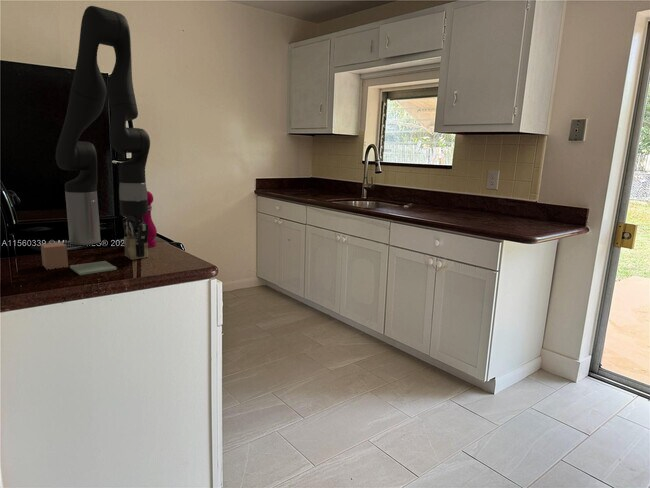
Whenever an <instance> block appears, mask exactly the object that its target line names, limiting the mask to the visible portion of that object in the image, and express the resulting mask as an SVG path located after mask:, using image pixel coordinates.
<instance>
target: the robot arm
mask: <svg viewBox="0 0 650 488" xmlns="http://www.w3.org/2000/svg"><path fill="white" fill-rule="evenodd" d="M80 23H81V24H80V30H79V31H80V32H79V41H78V52H77V58H76V64H75V70H74V75H73V77H72V78H73V79H72V83H71V85H70V86H71V87H70V92H69V97H68V104H67V109H66V114H65V118H64V122H63V126H62V128H61V132H60V135H59V137H58V141H57V143H56V144H57V145H56V148H55V161H56V162H55V163H56V165H57V167H58V168H59V169H61V170H63V171H79V174H78V176H77V177H74V179H70V180H68V181H66V182H65V183H64V194H65V203H66V206H65V207H66V218H67V227H68V228H67V229H68V239H69V240H68V241H69V244H70V245H73V246H74V245H75V246H84V245H86V246H87V245H94V244H98V243H101V229H100V216H99V202H98V201H99V200H98V181H99V179H98V154H97V149H96V146H95V145H94V144H93V143H91V142H89V141H80V140H79V139H80V137H81V135H82V134H83V132H84V131H85V130H86V129H87V128H88V127H89V126H90V125H91V124H92V123H93V122H95V121H96V120H97V118H98V117H99V116H100V115H101V113H102V112H103V110H104V106H105V102H106V97H107V98H108V104H109V109H110V127H109V143H110V146H111V147H112V149H113V150H114V151H115V152H117V153H120V154H131V157H130V159H129V160H126V161H122V162H120V163H119V164H118V178H119V179H118V180H119V183H118V184H119V187H118V196H119V209H120V210H119V211H120V214H121V215H122V216H125V217H126V218H125V217H124V218H122V226H123V233H124V234H123V235H124V237H127V236H133V237H134V238H135V243H136V256H137V257H143V256H144V255H145V254H144V244H145V243H147V242H148V224H144V221H143V215H146V214H147V213H148V200H147V191H148V188H147V183H146V182H147V181H146V166H147V161H148V157H149V152H150V149H151V148H150V147H151V139H150V136H149V134H148V132H147V131H146V130H145V129H143V128H139V127H138V128H137V127H127V122H128V121H133V120H135V119H137V118H138V115H139V110H138V106H137V101H136V95H135V89H134V85H133V83H134V82H133V72H132V70H133V68H132V66H133V65H132V45H131V44H132V43H131V42H132V41H131V31H130V30H131V29H130V25H129V23H128V19H127V18H126V16H125V15H124V14H122V13H120V12H117V11H114V10H111V9H106V8H103V7H99V6H96V5H89V6H87V7H86V8H85V10H84V11H83V14H82V18H81V22H80ZM99 45H103V46H109V47H112V48H113V50H114V54H115V55H114V56H115V64H114V66H113V69H112V71H111V74H110V76H109V79H108V81H107V84H106V82H105V80H104V77H103V75H102V72H101V70H100V66H99V63H98V50H99ZM144 236H145V237H144ZM141 238H142V239H141Z"/></svg>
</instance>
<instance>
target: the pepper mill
mask: <svg viewBox="0 0 650 488" xmlns="http://www.w3.org/2000/svg"><path fill="white" fill-rule="evenodd" d="M147 200H148V213H147V214H146V215H143V221H144V224H148V247H150V248H154V247H156V245H157V243H156V242H157V241H156V239H155V238H156V237H157V234H158V233H157V232H158V231H157V230H158V229H157V228H156V226H155V224H154V221H153V219H152V214H151V213H152V210H153V205H152V203H153V202H154V196H153V194H152V193H151V192H150V191H148V190H147Z"/></svg>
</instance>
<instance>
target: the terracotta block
mask: <svg viewBox="0 0 650 488" xmlns="http://www.w3.org/2000/svg"><path fill="white" fill-rule="evenodd" d="M40 250H41V251H40V252H41V261H42V267H43V266H44V268H45V269H46V270H47V271H49V270H55V268H56V269H62V268H63V267H64V268H69V260H68V247H67V244H65V243H63V241H62V242H61V241H60V242H52V243H51V242H50V243H42V244H41V243H40ZM64 268H63V269H64ZM48 269H49V270H48Z"/></svg>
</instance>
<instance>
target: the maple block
mask: <svg viewBox="0 0 650 488" xmlns="http://www.w3.org/2000/svg"><path fill="white" fill-rule="evenodd" d="M144 237H145V236H144ZM141 239H142V238H141ZM123 242H124V243H123V244H124V256H126V258H127V257H128V258H127V259H130V260H133V261H134V260H139V259H146V257H147V258H149V248H148V242H147V243H145V244H144V254H145V255H144V256H143V257H137V256H136V243H135V238H134V237H133V236H127V237H125V236H123Z"/></svg>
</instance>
